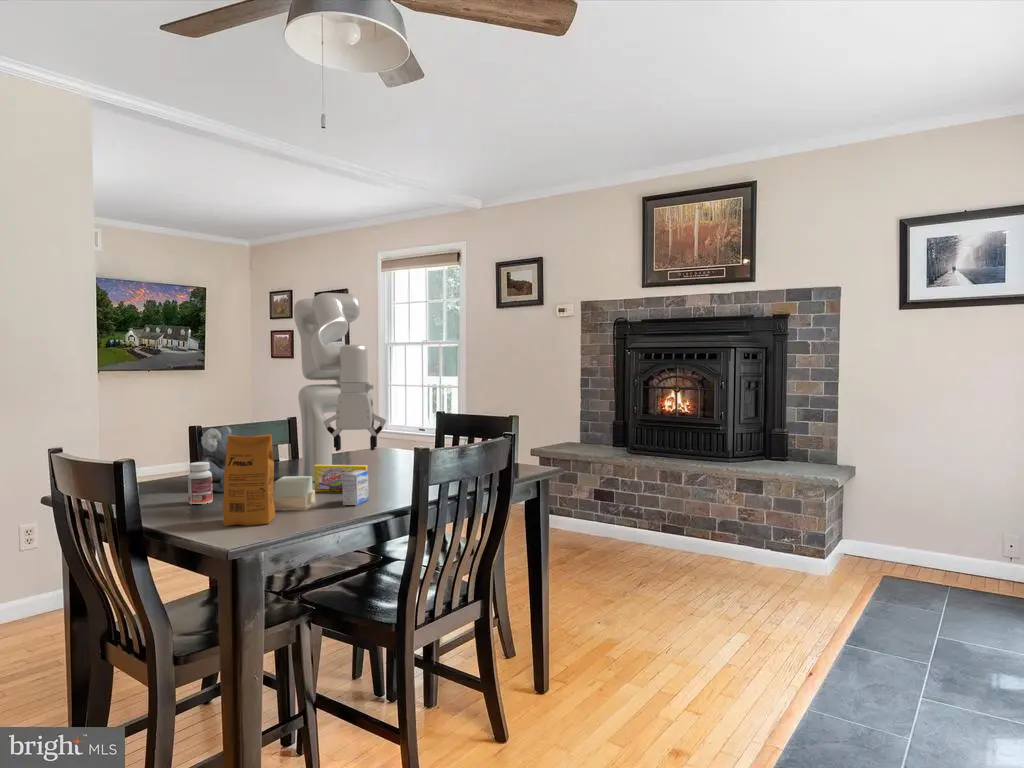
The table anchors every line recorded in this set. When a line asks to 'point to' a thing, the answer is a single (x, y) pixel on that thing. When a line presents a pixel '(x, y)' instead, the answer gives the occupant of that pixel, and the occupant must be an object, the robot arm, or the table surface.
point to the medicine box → (355, 487)
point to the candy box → (333, 476)
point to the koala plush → (216, 454)
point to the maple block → (294, 501)
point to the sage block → (293, 486)
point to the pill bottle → (200, 483)
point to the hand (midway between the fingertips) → (355, 450)
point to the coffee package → (248, 481)
